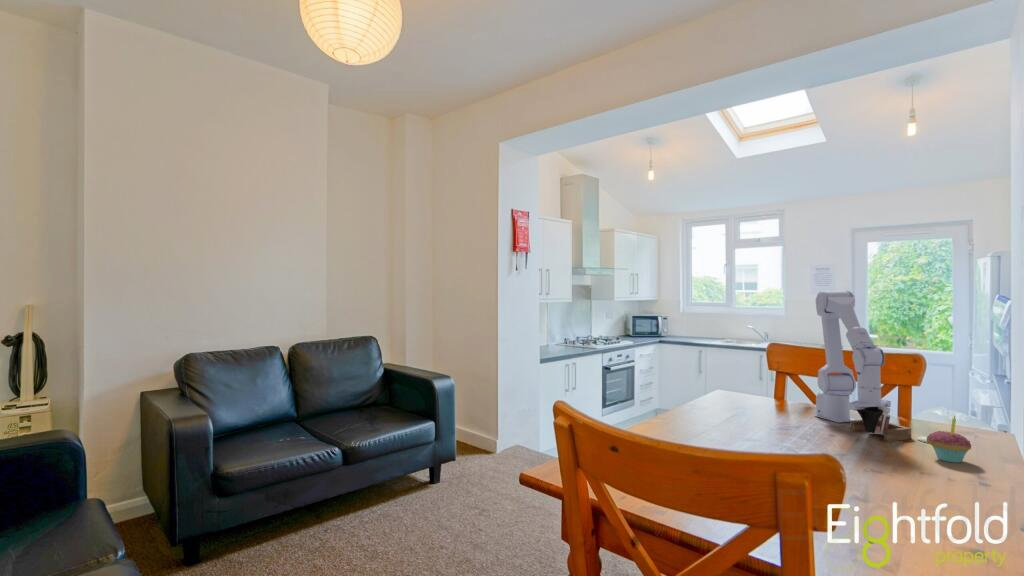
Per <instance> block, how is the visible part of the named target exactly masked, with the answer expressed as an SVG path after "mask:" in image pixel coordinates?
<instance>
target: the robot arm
mask: <svg viewBox="0 0 1024 576" xmlns="http://www.w3.org/2000/svg"><path fill="white" fill-rule="evenodd" d="M855 305H856V298H855V295H854V293H853V292H852V291H850V290H846V291H845V290H844V291H843V290H842V291H841V290H840V291H837V290H836V291H835V290H834V291H832V290H831V291H823V290H821V291H819V292H818V293H817V295H816V297H815V307H816V308H815V309H816V313H817V314H816V315H817V316H819V317H821V324H822V325H821V326H822V335H823V343H824V351H825V362H826V364H825V365H824V366H822V367H821V368H820V369H818V370H817V386H818V388H819V390H820V391H819V392H818V393H817V394H816V395H815V396H816V397H815V414H814V416H815V417H818V418H821V419H825V420H828V421H831V422H835V423H839V424H840V423H848V422H850V423H851V421H857V418H853V417H851V411H857V413H858V415H859V416H860V418H861V420H863V423H864V426H865V432H868V433H870V434H874V432H875V428H876V425H877V422H878V420H879V418H880V416H881V415H882V414H883V410H881V409H878V407H887V408H891V405H892V404H891V402H892V401H891V400H889V399H882V382H881V381H882V380H881V379H882V378H881V375H882V373H881V367H883V366H884V365H885V362H886V356H885V353H884V351H883V349H882V348H881V347H879V346H878V345H877V344H874V342H873V340H872V338H871V335H870V334H869V332H868V330H867V328H864V327H861V325H860V322H859V319H858V317H857V315H856V312H855V309H854V308H855ZM840 321H841V322H842V324H843V325H844V327H845V329H846V330H847V331H846V332H845V337H846V339H847V342H848V344H849V345H850V347H851V349H852V356H851V357H852V358H851V359H852V361H853V365H854V370H855V372H856V378H855V376H854V372H853V371H854V370H852V369H851V368H849V367H848V366H847V365H845V362H844V361H845V360H844V353H843V347H842V346H843V343H842V337H841V327H840V326H841V325H840ZM856 380H857V381H856ZM856 387H857V388H856ZM856 389H857V400H854V401H851V402H850V396H851V395H853V393H854V391H856ZM850 410H851V411H850Z"/></svg>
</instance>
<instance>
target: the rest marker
mask: <svg viewBox="0 0 1024 576" xmlns="http://www.w3.org/2000/svg"><path fill="white" fill-rule="evenodd" d="M916 439H917V440H918V441H919V442H922V443H924V444H929V443H928V442H927V436H918V437H916Z"/></svg>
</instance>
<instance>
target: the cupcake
mask: <svg viewBox="0 0 1024 576" xmlns="http://www.w3.org/2000/svg"><path fill="white" fill-rule="evenodd" d="M956 421H957V418H956V415H954V417H953V418H952V420H951V426H950V431H947V430H946V431H943V430H942V431H941V430H939V431H935V432H931V433H929V434H928V435H927V436H926V437H927V442H928V443H927V444H929V445H931V447H932V448H933V450H934V452H935V455H936V457H937V458H938V460H940V461H944V462H948V463H954V464H955V463H957V464H959V463H962V462H963V460H964V458H965V456H966V455H967V453H968V452H969V450H970V451H971V450H972V444H971V442H970V440H968V439H967V438H966V437H965V436H963V435H961V434H959V433H956V432H955V429H956Z"/></svg>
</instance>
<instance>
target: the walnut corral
mask: <svg viewBox="0 0 1024 576" xmlns="http://www.w3.org/2000/svg"><path fill="white" fill-rule="evenodd" d="M864 431H865V432H866V430H865V426H864V423H863V420H862V419H858V420H857V421H850V432H856V433H857V432H864ZM911 439H912V428H911V427H907V426H903V425H900V424H894V423H892V422H889V425H888V429H887V430H884V435H883V441H885V442H889V443H890V442H895V441H904V440H911Z"/></svg>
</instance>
